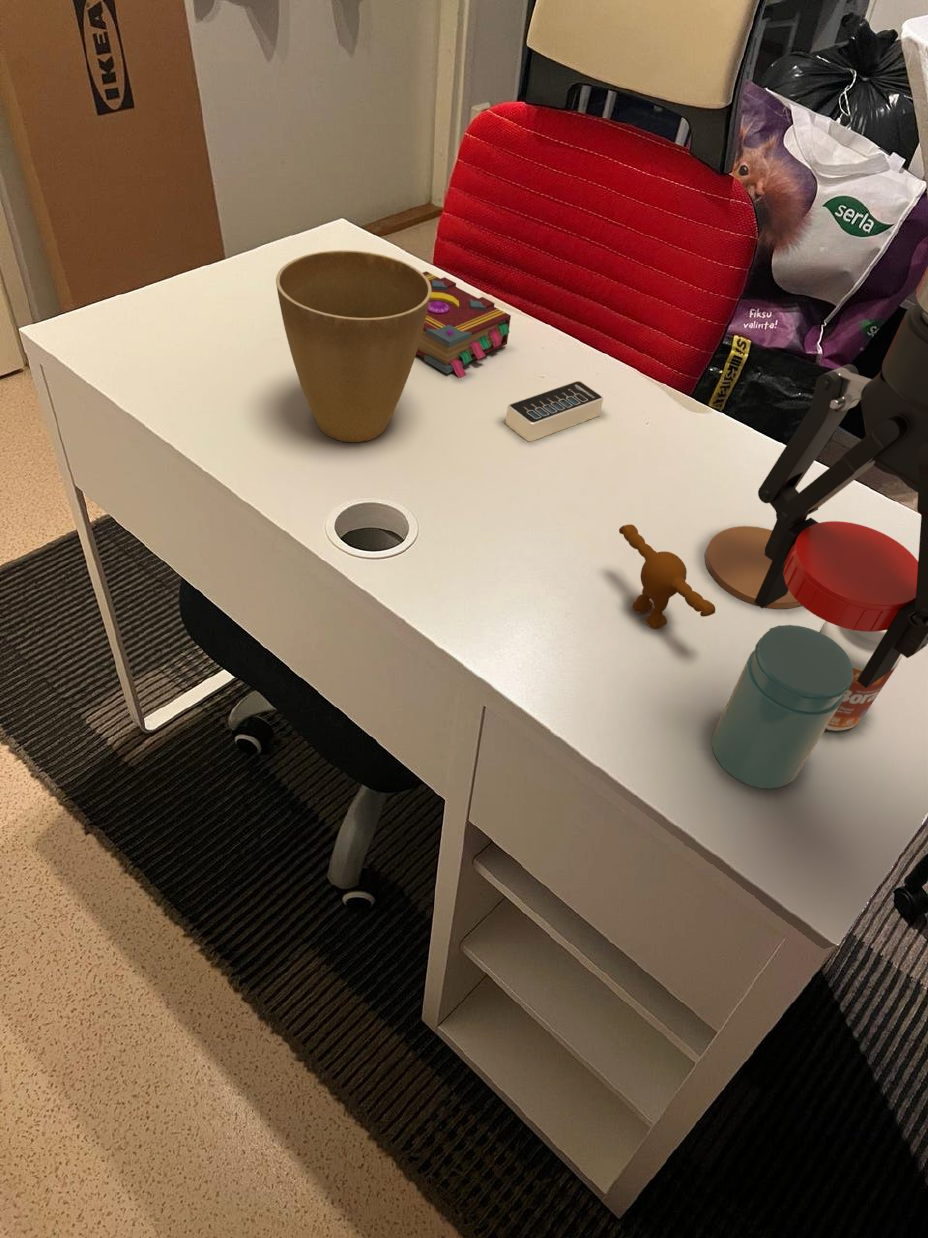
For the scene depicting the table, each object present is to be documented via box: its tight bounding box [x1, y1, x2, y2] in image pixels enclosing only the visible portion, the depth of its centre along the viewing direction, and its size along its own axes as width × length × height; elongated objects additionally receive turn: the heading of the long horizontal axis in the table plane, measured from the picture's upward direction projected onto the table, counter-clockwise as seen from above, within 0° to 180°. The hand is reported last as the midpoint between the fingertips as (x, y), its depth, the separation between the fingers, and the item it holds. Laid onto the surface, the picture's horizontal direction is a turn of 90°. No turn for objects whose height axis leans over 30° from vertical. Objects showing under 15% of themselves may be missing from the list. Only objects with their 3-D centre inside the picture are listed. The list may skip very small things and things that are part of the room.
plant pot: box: [275, 249, 432, 443], centre depth 92 cm, size 15×15×16 cm
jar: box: [711, 624, 853, 790], centre depth 67 cm, size 7×7×11 cm
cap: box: [783, 520, 918, 632], centre depth 58 cm, size 8×8×2 cm
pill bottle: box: [819, 620, 904, 732], centre depth 72 cm, size 6×6×11 cm
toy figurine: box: [618, 524, 716, 629], centre depth 79 cm, size 12×4×7 cm, turn 29°
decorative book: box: [416, 270, 512, 379], centre depth 111 cm, size 11×16×5 cm
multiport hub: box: [505, 380, 604, 442], centre depth 102 cm, size 4×11×2 cm, turn 127°
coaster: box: [704, 525, 802, 610], centre depth 87 cm, size 11×11×1 cm
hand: (819, 635), depth 62 cm, fingers closed on cap, 8 cm apart
